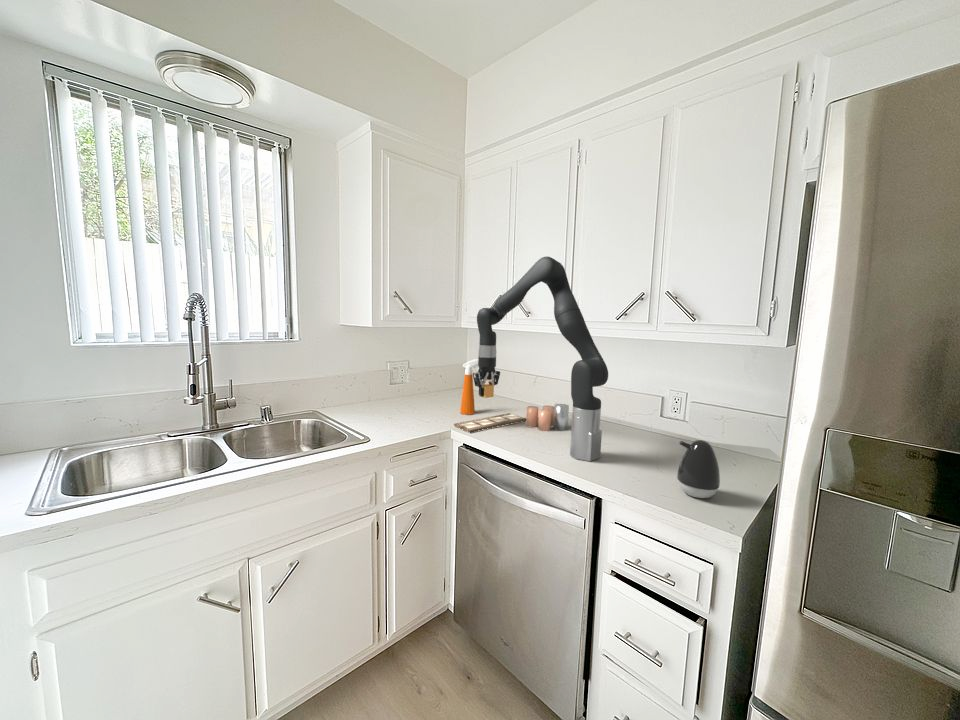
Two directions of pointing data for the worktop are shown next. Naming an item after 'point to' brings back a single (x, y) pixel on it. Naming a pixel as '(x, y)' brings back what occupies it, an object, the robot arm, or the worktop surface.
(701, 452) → the pump dispenser
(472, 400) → the spray bottle
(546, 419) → the tan cylinder
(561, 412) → the grey tin
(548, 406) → the tan cylinder
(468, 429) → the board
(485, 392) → the block
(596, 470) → the worktop surface
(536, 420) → the tan cylinder
